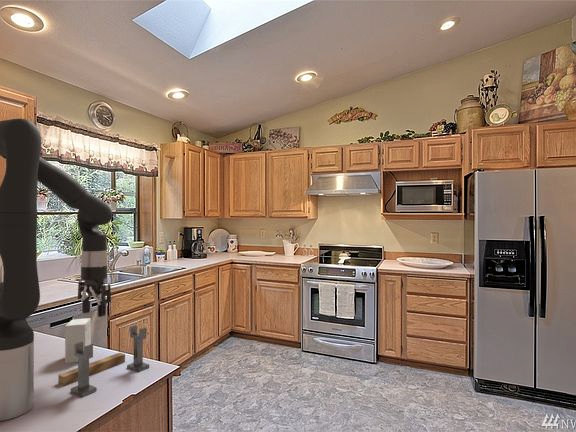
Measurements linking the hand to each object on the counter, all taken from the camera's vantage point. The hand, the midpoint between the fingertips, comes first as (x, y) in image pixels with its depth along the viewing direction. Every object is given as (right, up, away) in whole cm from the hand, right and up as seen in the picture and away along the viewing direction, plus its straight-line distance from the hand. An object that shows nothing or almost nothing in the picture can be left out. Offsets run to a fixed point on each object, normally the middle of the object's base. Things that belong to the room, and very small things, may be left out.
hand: (93, 314), depth 112 cm
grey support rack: (+9, -19, -5) cm, 21 cm away
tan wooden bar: (0, -19, 0) cm, 19 cm away
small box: (-12, -19, +11) cm, 25 cm away
